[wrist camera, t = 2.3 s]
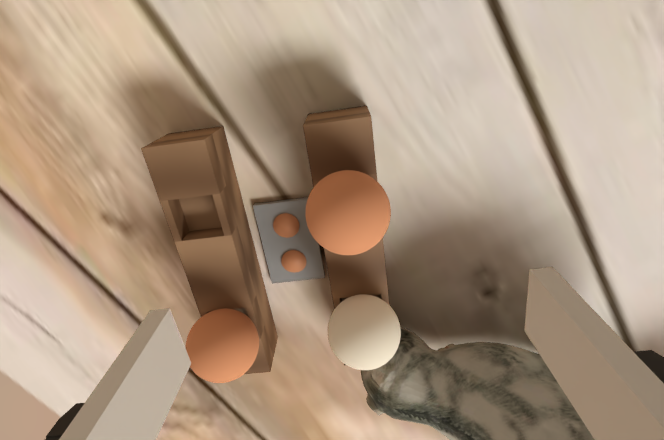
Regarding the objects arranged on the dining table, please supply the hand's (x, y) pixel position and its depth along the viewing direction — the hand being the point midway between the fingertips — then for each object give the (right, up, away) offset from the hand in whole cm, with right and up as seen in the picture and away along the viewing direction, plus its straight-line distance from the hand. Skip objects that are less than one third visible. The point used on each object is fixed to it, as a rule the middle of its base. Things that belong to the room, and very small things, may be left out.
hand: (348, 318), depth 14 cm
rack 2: (+1, +3, +16) cm, 16 cm away
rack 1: (-9, +1, +17) cm, 19 cm away
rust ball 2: (0, +4, +8) cm, 9 cm away
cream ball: (+2, -4, +12) cm, 13 cm away
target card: (-4, +2, +16) cm, 17 cm away
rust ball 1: (-8, -5, +13) cm, 16 cm away
